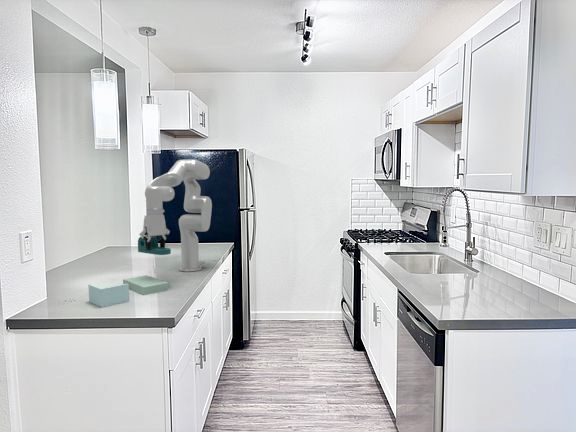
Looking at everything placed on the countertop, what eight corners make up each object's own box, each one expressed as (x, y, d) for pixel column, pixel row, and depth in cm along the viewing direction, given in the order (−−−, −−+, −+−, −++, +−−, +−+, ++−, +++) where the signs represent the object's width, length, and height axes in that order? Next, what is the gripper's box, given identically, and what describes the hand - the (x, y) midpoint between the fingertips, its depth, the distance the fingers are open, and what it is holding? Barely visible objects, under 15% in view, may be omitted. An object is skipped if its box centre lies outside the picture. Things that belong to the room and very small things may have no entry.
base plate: (146, 283, 217) (146, 275, 217) (168, 291, 202) (168, 282, 201) (123, 287, 209) (123, 279, 209) (144, 296, 193) (143, 287, 193)
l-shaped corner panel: (129, 300, 184) (128, 283, 184) (101, 307, 176) (100, 289, 175) (116, 295, 193) (115, 279, 192) (89, 301, 184) (88, 284, 183)
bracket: (138, 251, 211) (137, 236, 210) (149, 250, 216) (149, 234, 216) (162, 255, 201) (161, 238, 200) (173, 253, 206) (173, 237, 205)
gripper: (165, 211, 216) (166, 246, 217) (133, 213, 202) (135, 250, 204) (174, 211, 211) (175, 247, 212) (142, 213, 198) (143, 252, 199)
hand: (155, 248), depth 208 cm, fingers closed on bracket, 7 cm apart
